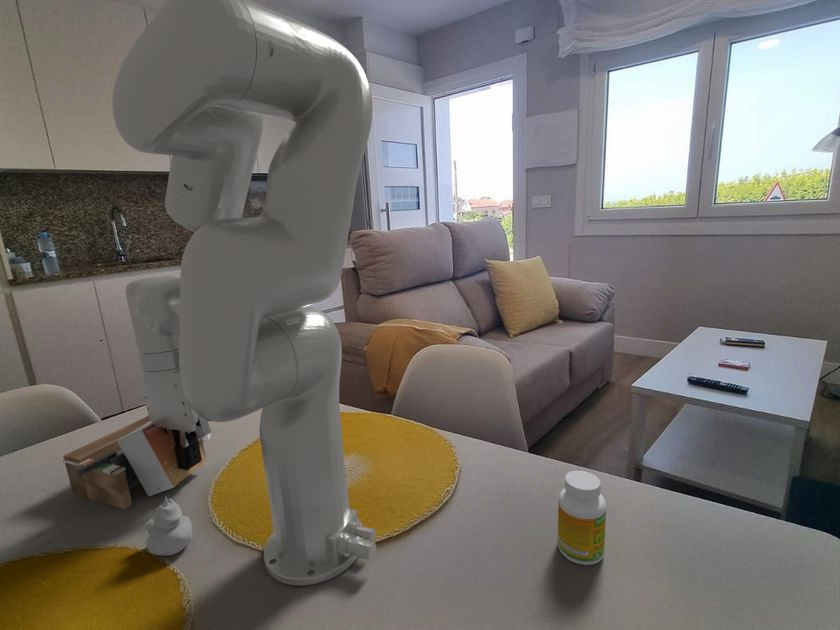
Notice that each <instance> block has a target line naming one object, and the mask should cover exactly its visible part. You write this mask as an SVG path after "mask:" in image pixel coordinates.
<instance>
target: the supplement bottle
mask: <svg viewBox="0 0 840 630" xmlns="http://www.w3.org/2000/svg"><path fill="white" fill-rule="evenodd" d="M601 483H602V482H601V480H600V479H599V477H597V476H596V475H595V474H593V473H591V472H589V471H586V470H572V471H569V472H567V473H566V474H565V476H564V488H563V489H562V490H561V491H560V493H559V495H558V507H557V510H558V511H557V513H558V514H557V547H558V550H559V552H560V553H561V554H562V555H563V556H564V558H566V559H567V560H568V561H570V562H573V563H575V564H577V565H583V566H590V565H595V564H598V563H599V562H600V561H602V559H603V558H604V556H605V555H604V554H605V540H606V538H605V537H606V523H607V521H606V520H607V502H606V499H605V497H604V496H603V494H601V489H602V488H601Z"/></svg>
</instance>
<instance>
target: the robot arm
mask: <svg viewBox="0 0 840 630" xmlns="http://www.w3.org/2000/svg"><path fill="white" fill-rule="evenodd" d="M112 90H113V91H112V104H111V106H112V116H113V120H114V123H115V126H116V128H117V131H118V133H119V135H120V136H121V138H122V140H123V141H124V142H125V143H126V144H127V145H128V146H129V147H130V148H132V149H134V150H136V151H138V152H141V153H145V154H152V155H156V154H157V155H165V156H166V155H167V156H171V158H170V159H171V160H170V166H169V172H168V181H167V187H166V193H165V199H164V208H165V211H166V212H167V214H168V215H169V217H170V218H171V219H172V220H173V221H174V222H175V223H176V224H178V225H180V226H182V227H183V228H185V229H187V230H189V231H191V232H193V234H192V236H191V237H190V239H189V240H188V242H187V244H186V246H185V248H184V250H183V251H184V252H183V254H182V258H181V259H182V260H181V262H180V263H181V264H180V273H179V274H180V276H179V277H177V276H156V277H155V276H152V277H145V278H140V279H139V278H138V279H135V280H132V281H131V282H128V284H127V285H126V286H125V287H126V288H125V298H126V302H127V306H128V311H129V315H130V320H131V321H130V322H131V324H132V325H131V326H132V330H133V334H134V338H135V343H136V348H137V354H138V358H139V362H140V367H141V372H142V384H143V385H142V386H143V393H144V394H143V395H144V401H145V406H146V412H147V414H148V415H147V416H149V419H150V421H151V423H153V424H154V425H155V426H158V427H163V428H165V433H166V434H167V435H168V437H169V440H170V443H171V445H172V446H175V445H176V446H175V447H174V450H175V455H176V460H177V464H178V468H179V469H183V470H189V469H190V468H192V467H193V466H195V465H196V464H198V463H200V462H201V461H202V457H201V452H200V447H199V441H198V440H200V438H201V437H205V436H206V435H208V434H210V435H211V434H212V430H211V427H210V425H209V422H215V423H227V422H232V421H235V420H236V421H237V420H238V419H241V418H243V417H246V416H248V415H251V414H252V413H254V412H257V411H259V410H261V409H262V410H261V414H260V420H259V440H260V447H261V453H262V460H263V467H264V472H265V479H266V480H265V482H266V488H267V494H268V495H267V496H268V501H269V507H270V513H271V521H272V528H273V532H272V533H271V535H270V536H269V537H268V539H267V540H266V543H265V546H264V548H263V549H264V550H263V558H264V559H263V560H264V564H265V565H264V566H265V568H266V571H267V572H268V574H269V575H270V576H271V577H272V578H273V579H275V580H276V581H278V582H280V583H282V584H285V585H286V584H287V585H291V586H311V585H316V584H319V583H320V584H321V583H323V582H326V581H328V580H329V581H330V580H331V579H333V578H335V577H337V576H338V575H340V574H342V573H344V571H346V570H347V569H348V568H349V567H351V566H352V565H353V564H354V562H355V561H357V560H358V558H359V559H362V560H366V561H373V559H374V558H375V556H376V552H377V543H376V542H374V541H375V538H376V537H377V536H376V535H377V530H376V529H375V528H373V527H372V528H371V527H367V526H363V523H362V522H361V520H360V519H359V518H358V510H357V509H351V508H350V501H349V493H348V482H347V474H346V472H347V471H346V462H345V453H344V443H343V434H342V433H343V431H342V423H341V422H342V421H341V411H340V410H341V409H340V380H341V379H340V378H341V369H342V358H343V357H342V356H343V353H342V352H343V351H342V349H343V348H342V339H341V335H340V332H339V329H338V328H337V325H336V324H335V322H334V321H333V319H331V317H329V316H328V314H326V313H325V312H324V311H321V310H319V309H317V308H313V307H309V306H312V305H316V304H318V303H321V302H323V301H325V300H327V299H329V298H330V297H332V295H334V293H335V292H336V291H337V289H338V287H339V285H340V282H341V278H342V273H343V269H344V264H345V263H344V262H345V257H346V251H347V245H348V239H349V233H350V228H351V221H352V216H353V210H354V203H355V195H356V188H357V184H358V178H359V174H360V171H361V167H362V162H363V160H364V156H365V152H366V149H367V145H368V141H369V137H370V133H371V128H372V122H373V97H372V90H371V85H370V83H369V80H368V76H367V74H366V72H365V71H364V68H363V67H362V65H361V64H360V62H359V60H358V59H357V58H356V57H355V56H354V54H353V53H351V51H349V49H348V48H346V47H345V45H343V44H342V43H340V42H339V41H337V40H336V39H334V38H333V37H331V36H329V35H328V34H326V33H324V32H323V31H320V30H318V29H317V28H315V27H313V26H310V25H308V24H306V23H304V22H302V21H300V20H299V19H298V20H297V19H295V18H293V17H291V16H289V15H285V13H281V12H278V11H276V10H273V9H271V8H268V7H266V6H264V5H263V4H259V3H257V2H255V1H253V0H165V2H164V3H163V4H162V6H161V7H160V8H159V10H158V11H157V12H156V14H155V15H154V17H153V18H152V19H151V20H150V21H149V23H148V25H146V27H145V29H144V30H143V31H142V32H141V33H140V35H139V37H138V38H137V39H136V40H135V42H134V43H133V44H132V46H131V47H130V49H129V51H128V53H127V55H126V56H125V58H124V60H122V62H121V65H120V68H119V69H118V73H117V75H116V77H115V81H114V86H113V89H112ZM264 115H269V116H275V117H280V118H284V119H289V120H290V121H292V122H293V123H294V127H293V128H292V129H290V131H289V132H288V133H287V134H286V135H285V136H284V138H283V139H282V140H281V142H280V144H279V145H278V147H277V149H276V150H275V152H274V155H273V157H272V158H271V161H270V164H269V167H268V170H267V171H268V172H267V177H266V178H267V179H266V181H267V182H266V194H265V200H264V206H263V209H262V212H261V214H260V215H258V216H256V217H242V216H243V211H244V208H245V205H246V199H247V196H248V192H249V187H250V184H251V180H252V176H253V172H254V167H255V164H256V161H257V160H256V159H257V155H258V152H259V148H260V144H261V139H262V135H263V129H264Z"/></svg>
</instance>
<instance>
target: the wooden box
mask: <svg viewBox="0 0 840 630" xmlns="http://www.w3.org/2000/svg"><path fill="white" fill-rule="evenodd" d="M148 422H150V419H149V415H147V416H144V417H143V418H140V419H139V420H136V421H134V422H132V423H130V424H128V425H126V426H124V427H122V428H120V429H119V428H118V429H117V430H115V431H113V432H111V433H108V434H106V435H103V436H102V437H99V438H97V439H96V440H94V441H92V442H89V443H87V444H85V445H83V446H81V447H78V448H77V449H74V450H72V451H70V452H68V453H65V454H64V455H62V458H63V459H62V463H64V465H65V469H66V472H67V476H68V479H69V485H70V488H71V491H72V495H74V496H78V497H80V498H81V497H82V498H85V499H88V500H92V501H95V502H99V503H102V504H105V505H109V506H112V507H116V508H118V509H123V510H126V509H127V508H130V507H131V506H133V502H132V497H131V492H130V487H129V488H128V483H127V479H126V475H125V469H126V468H125V467H123V466H117V465H114V464H110V463H104V464H102V465H100V466H98V467H96V468H95V469H93V470H91V471H89V472H87V473H85V474H83V475H81V476H76V473H75V471H76V470H78V469H80V468H82V467H84V466H85V465H87V464H89V463H91V462H93V461H95V460H97V459H99V458H101V457H103V456H105V455H107V454H109V453H111V452H113V451H114V452H117V451H119V450H121V447H120V445H119V444H118V442H117V440H119V439H120V438H122V437H124V436H126V435H128V434H130V433H131V432H133V431H135V430H137V429H138V428H140V427H142V426H143V425H145V424H147V423H148ZM198 441H199V447H200V450H201V452H202V453H203V455H204V457H205V459H206V451H205V445H204V441H203V439H202V437H201V438H200V440H198Z"/></svg>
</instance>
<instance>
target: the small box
mask: <svg viewBox="0 0 840 630" xmlns="http://www.w3.org/2000/svg"><path fill="white" fill-rule="evenodd" d="M117 442H118V444H119V445H120V447H121V449H122V451H123V453H124V454H125V456H126V458H127V459H128V461H129V463H130V465H131V466H132V468H133V470H134V472H135V473H136V475H137V477H138V479H139V480H140V481H139V482H140V484H141V485H142V486H141V487H143V490H144V491H145V493H146V494H147V496H148V497H151V496H155V495H157V494H160V493H163V492H165V491H168V490H171V489H173V488H175V487H176V486H177V485H179V483H181V482H182V481H184V479H185V478H187V477H188V476H190V475H191V474H193V473H194V472H195V471H197V470H198V469H199V468H200V467H202V466H203V465H204V464H206V463H207V459H206V458H205V457H204V455H203V453H202V452H201V450H200V452H201V457H202V461H201V462H200V463H198V464H196V465H195V466H193V467H192V468H190V469H189V470H183V469H179V468H178V464H177V460H176V455H175V450H174V447H175V446H176V445H175V446H172V445H171V443H170V440H169V437H168V435H167V434H166V433H165V428H163V427H158V426H155V425H154V424H153V423H151V421H150V422H148V423H147V424H145V425H143V426H142V427H140V428H138V429H137V430H135V431H133V432H131V433H130V434H128V435H126V436H124V437H122V438H120V439H119V440H117Z"/></svg>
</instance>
